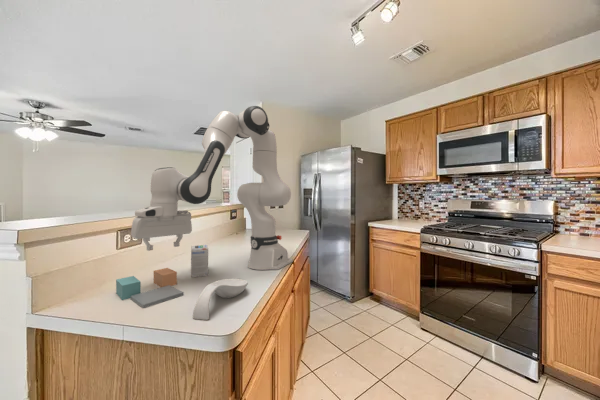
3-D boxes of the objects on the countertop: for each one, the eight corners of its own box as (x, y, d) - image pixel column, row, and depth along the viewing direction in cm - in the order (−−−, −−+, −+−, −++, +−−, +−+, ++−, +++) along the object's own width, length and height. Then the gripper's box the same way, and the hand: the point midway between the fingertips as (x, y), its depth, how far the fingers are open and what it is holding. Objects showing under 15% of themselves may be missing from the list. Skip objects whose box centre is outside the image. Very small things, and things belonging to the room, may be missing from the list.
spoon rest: (221, 286, 90) (221, 267, 90) (252, 288, 88) (252, 268, 88) (180, 319, 67) (180, 293, 66) (221, 323, 65) (221, 296, 65)
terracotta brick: (167, 279, 96) (167, 267, 96) (176, 284, 91) (176, 271, 91) (153, 283, 92) (153, 270, 92) (162, 288, 87) (162, 275, 87)
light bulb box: (191, 269, 108) (191, 245, 108) (207, 268, 111) (207, 244, 111) (190, 277, 99) (190, 250, 98) (208, 275, 101) (208, 249, 101)
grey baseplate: (169, 287, 88) (169, 285, 88) (183, 295, 82) (183, 292, 82) (130, 299, 78) (130, 296, 78) (143, 308, 72) (143, 304, 72)
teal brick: (133, 289, 86) (133, 275, 86) (140, 295, 81) (140, 281, 81) (116, 293, 83) (116, 279, 83) (122, 300, 77) (122, 285, 77)
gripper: (187, 209, 101) (186, 243, 101) (129, 211, 85) (129, 251, 85) (195, 210, 97) (194, 245, 97) (136, 212, 81) (136, 254, 81)
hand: (163, 248), depth 91 cm, fingers open, 8 cm apart
